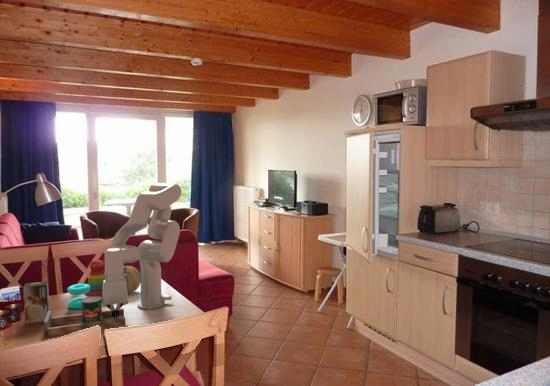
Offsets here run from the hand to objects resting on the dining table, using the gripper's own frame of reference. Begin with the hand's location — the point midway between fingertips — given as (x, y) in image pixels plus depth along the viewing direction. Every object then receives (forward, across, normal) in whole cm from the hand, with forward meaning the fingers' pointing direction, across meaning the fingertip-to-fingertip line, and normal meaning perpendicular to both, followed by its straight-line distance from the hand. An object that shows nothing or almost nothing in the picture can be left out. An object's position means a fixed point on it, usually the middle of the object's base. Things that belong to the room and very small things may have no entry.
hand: (115, 318), depth 177 cm
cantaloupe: (+1, -7, -39) cm, 40 cm away
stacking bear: (+1, +7, -45) cm, 46 cm away
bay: (+1, +11, 0) cm, 11 cm away
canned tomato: (+1, +9, 0) cm, 9 cm away
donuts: (+1, +15, -27) cm, 31 cm away
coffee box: (+1, +31, -15) cm, 35 cm away
